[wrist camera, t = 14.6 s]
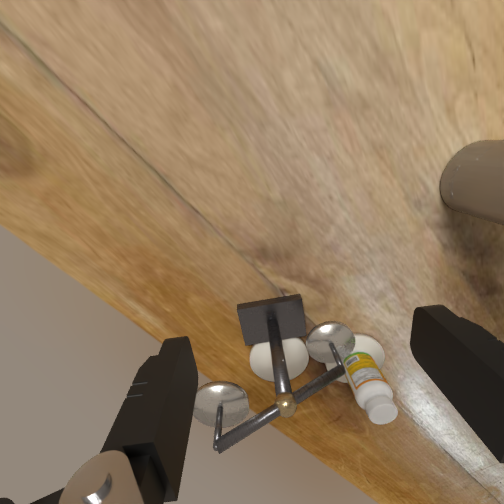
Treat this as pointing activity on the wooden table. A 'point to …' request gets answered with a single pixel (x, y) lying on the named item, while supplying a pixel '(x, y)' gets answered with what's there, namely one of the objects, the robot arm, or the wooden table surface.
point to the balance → (273, 331)
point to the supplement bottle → (370, 387)
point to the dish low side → (367, 345)
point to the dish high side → (293, 355)
